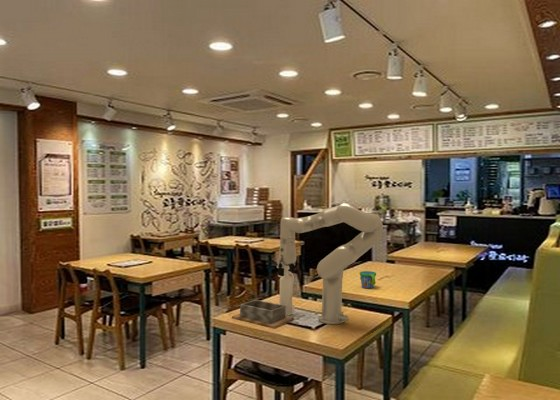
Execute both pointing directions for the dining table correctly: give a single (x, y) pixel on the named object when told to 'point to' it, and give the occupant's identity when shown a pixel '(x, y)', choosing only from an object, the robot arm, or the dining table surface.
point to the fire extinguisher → (287, 291)
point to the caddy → (263, 314)
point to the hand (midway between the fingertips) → (286, 274)
